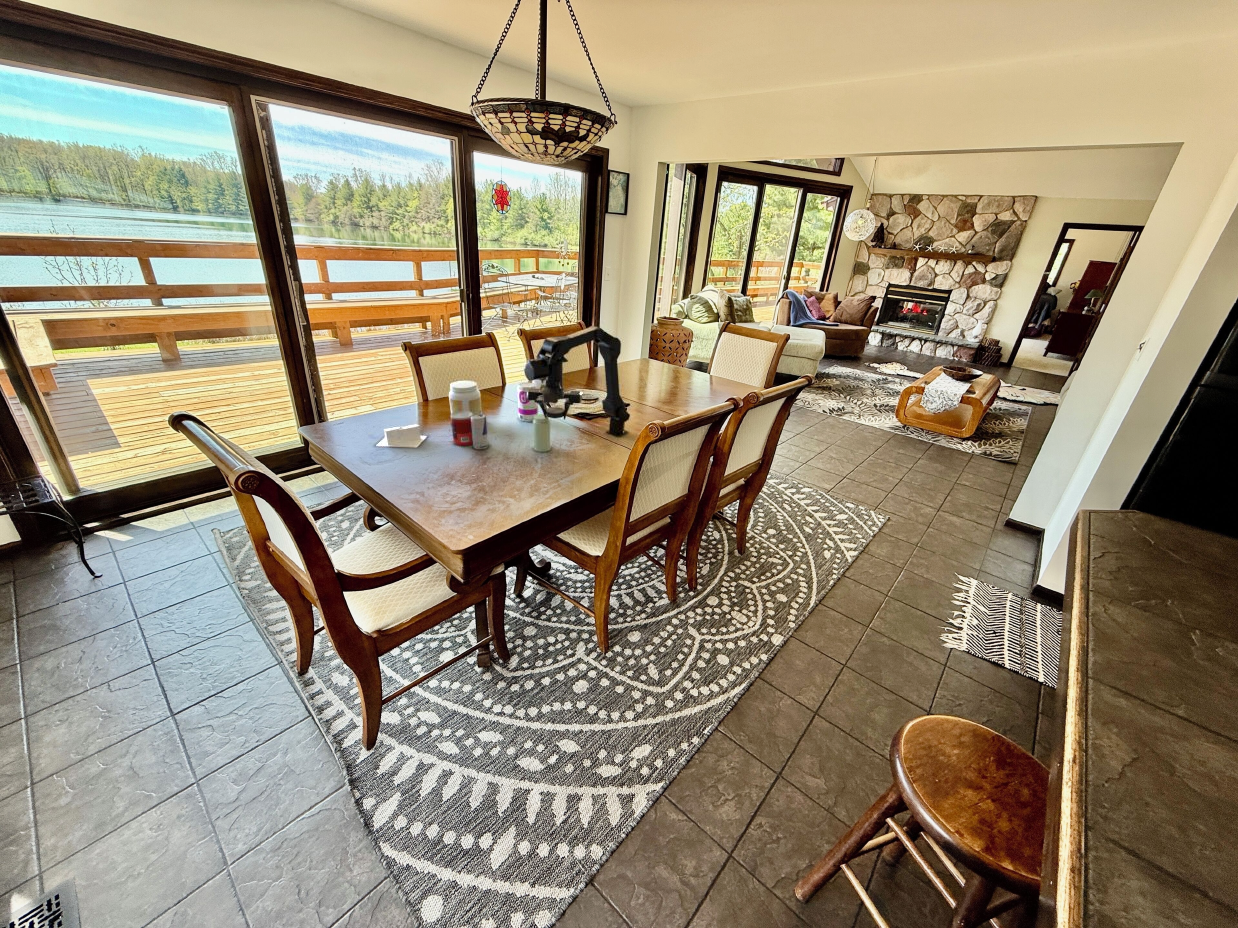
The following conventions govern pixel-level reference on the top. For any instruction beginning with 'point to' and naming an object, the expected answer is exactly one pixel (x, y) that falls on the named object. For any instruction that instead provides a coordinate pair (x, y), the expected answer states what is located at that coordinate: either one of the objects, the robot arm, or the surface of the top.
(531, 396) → the robot arm
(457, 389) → the supplement tub
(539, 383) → the spread jar
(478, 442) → the energy drink
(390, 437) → the napkin holder
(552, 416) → the lid
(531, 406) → the supplement can
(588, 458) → the top surface
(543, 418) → the jar
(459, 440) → the canned food
